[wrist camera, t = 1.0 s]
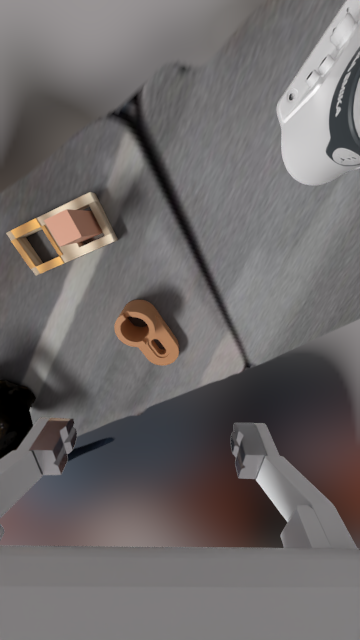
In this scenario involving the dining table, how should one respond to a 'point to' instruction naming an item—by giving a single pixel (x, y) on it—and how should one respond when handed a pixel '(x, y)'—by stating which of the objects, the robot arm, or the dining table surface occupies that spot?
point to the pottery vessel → (14, 416)
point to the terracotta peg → (73, 226)
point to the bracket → (147, 332)
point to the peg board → (64, 252)
